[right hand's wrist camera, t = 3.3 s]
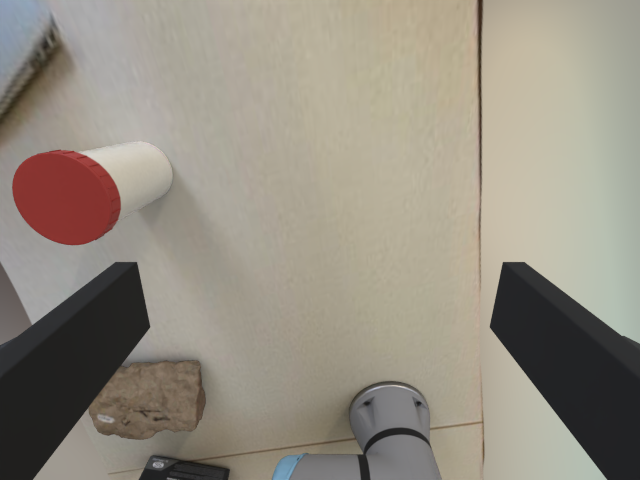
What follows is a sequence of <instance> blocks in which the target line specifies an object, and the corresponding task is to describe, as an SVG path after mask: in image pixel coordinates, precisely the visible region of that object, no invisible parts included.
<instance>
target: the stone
mask: <svg viewBox="0 0 640 480" xmlns="http://www.w3.org/2000/svg"><path fill="white" fill-rule="evenodd" d="M200 368H201V365H200V363H199V361H198V360H195V361H182V362H177V363H175V362H169V361H163V362H158V363H150V362H147V363H139V362H138V363H132V364H131V365H130V367H128V368H126V367H123V366H120V367H119V368H118V370H117V371H116V372H115V374H114V375H113V376H112V377H111V379H110V380H109V381H108V383H107V384H106V385H105V387H104V388H103V389H102V390H101V392H100V393H99V394H98V396H97V397H96V398H95V400H94V401H93V402H92V403H91V405H90V406H89V414H90V416H91V418H92V420H93V423H94V426H95V427H96V429H97V431H98V432H99V433H102V434H104V435H111V434H115V435H118V436H120V437H121V438H123V437H124V438H128V439H138V440H143V439H148V438H151V437H152V436H154V434H155V433H156V432H159V431H162V430H164V429H168V430H171V431H173V432H177V431H181V430H186V431H193V430H194V429H195V428H196V427H197V425H198V422H199V420H201V418H202V414H203V410H204V406H205V394H204V390H203V388H202V380H201V372H200Z"/></svg>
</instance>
